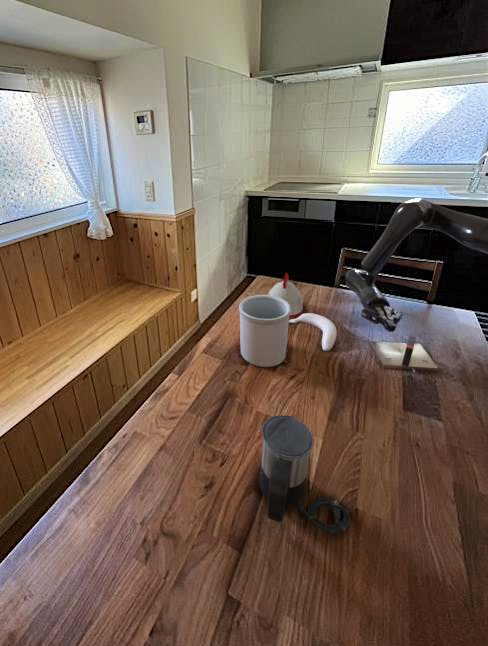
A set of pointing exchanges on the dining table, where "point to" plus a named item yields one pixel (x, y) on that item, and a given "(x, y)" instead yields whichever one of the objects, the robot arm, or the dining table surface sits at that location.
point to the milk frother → (292, 473)
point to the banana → (323, 324)
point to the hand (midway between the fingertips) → (392, 329)
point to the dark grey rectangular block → (408, 351)
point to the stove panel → (394, 355)
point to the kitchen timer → (289, 296)
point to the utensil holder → (264, 329)
